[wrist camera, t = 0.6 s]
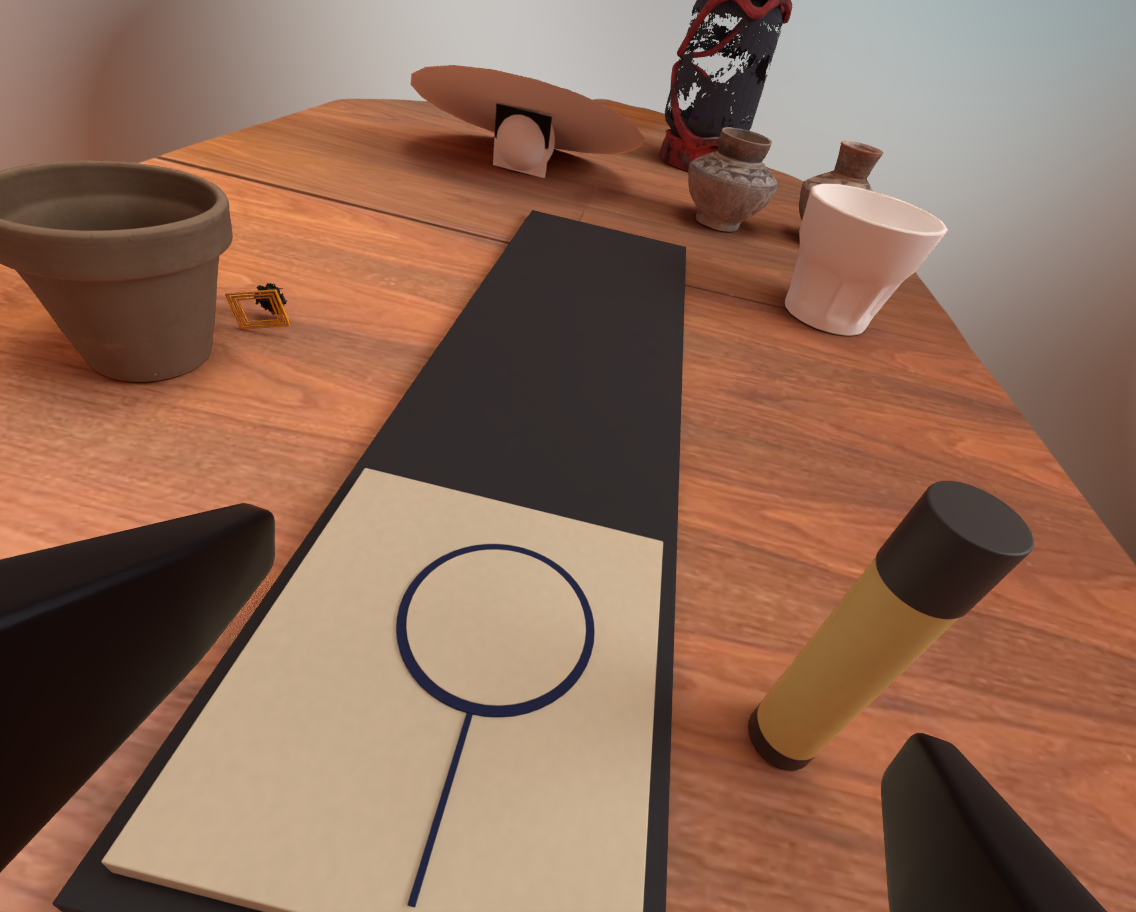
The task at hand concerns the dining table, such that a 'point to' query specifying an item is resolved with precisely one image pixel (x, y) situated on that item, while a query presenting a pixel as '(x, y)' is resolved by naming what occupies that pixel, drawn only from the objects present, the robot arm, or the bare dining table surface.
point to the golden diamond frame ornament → (267, 299)
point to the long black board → (455, 635)
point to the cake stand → (526, 115)
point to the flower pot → (119, 259)
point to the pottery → (760, 177)
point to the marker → (890, 617)
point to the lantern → (711, 114)
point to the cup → (855, 255)
